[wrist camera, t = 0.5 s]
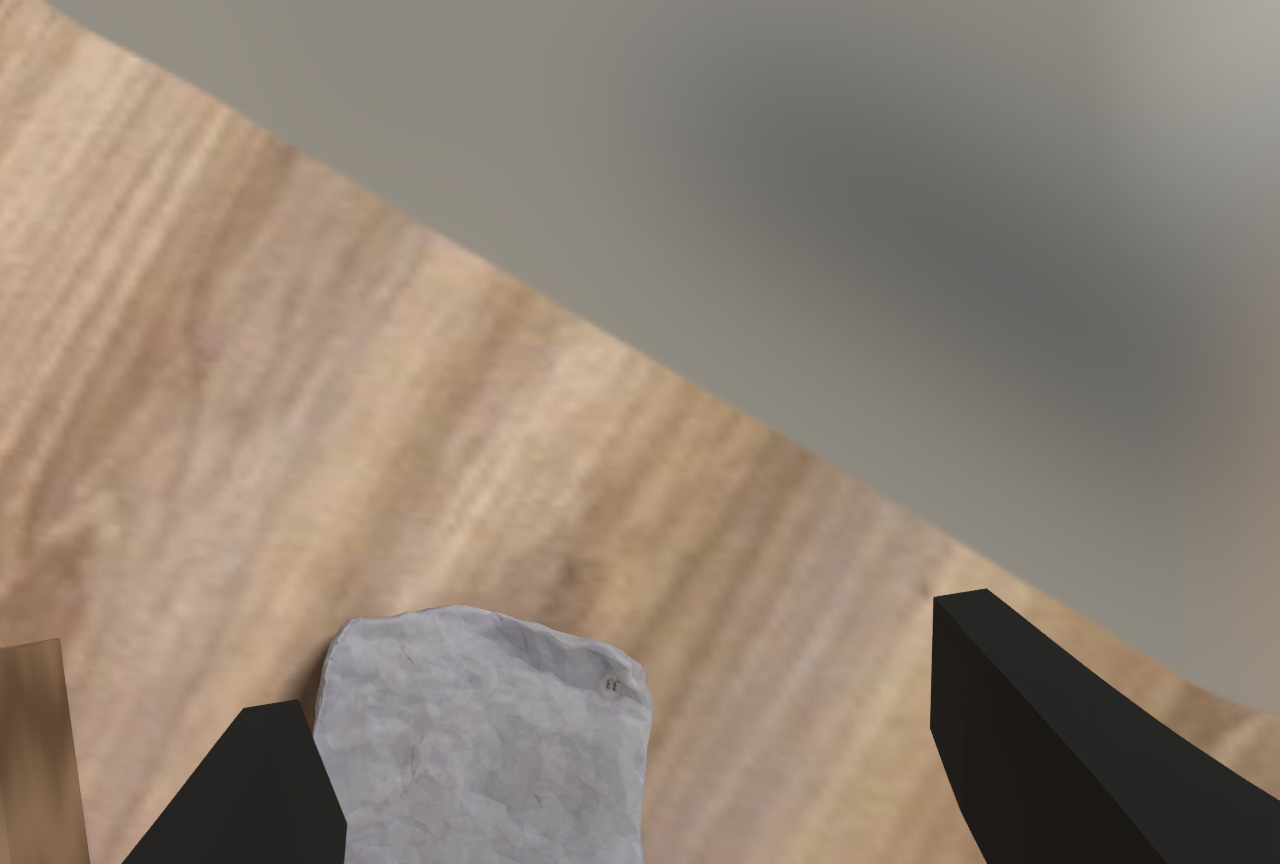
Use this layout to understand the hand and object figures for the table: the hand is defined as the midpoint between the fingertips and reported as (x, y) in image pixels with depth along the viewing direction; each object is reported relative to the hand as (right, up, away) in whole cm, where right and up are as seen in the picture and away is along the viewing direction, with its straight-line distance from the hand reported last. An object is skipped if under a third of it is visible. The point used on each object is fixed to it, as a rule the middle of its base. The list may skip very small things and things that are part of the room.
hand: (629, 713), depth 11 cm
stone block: (-5, -8, +24) cm, 26 cm away
